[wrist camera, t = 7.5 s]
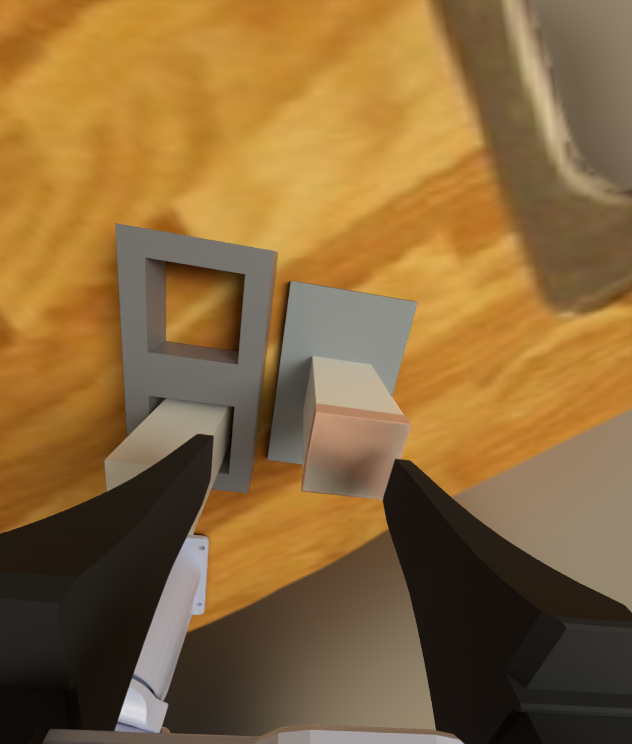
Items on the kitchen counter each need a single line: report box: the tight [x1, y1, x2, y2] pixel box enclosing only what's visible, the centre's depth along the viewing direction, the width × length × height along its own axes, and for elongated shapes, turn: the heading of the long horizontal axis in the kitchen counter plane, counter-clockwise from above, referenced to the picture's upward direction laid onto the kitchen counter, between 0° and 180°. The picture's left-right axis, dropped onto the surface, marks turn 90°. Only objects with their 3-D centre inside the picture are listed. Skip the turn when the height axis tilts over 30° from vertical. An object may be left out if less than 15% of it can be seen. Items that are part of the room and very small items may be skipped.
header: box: [115, 223, 278, 493], centre depth 20 cm, size 16×8×2 cm, turn 171°
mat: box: [268, 281, 418, 464], centre depth 21 cm, size 13×8×1 cm, turn 171°
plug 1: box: [104, 398, 232, 535], centre depth 18 cm, size 4×4×8 cm
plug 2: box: [302, 356, 412, 500], centre depth 17 cm, size 4×4×8 cm
